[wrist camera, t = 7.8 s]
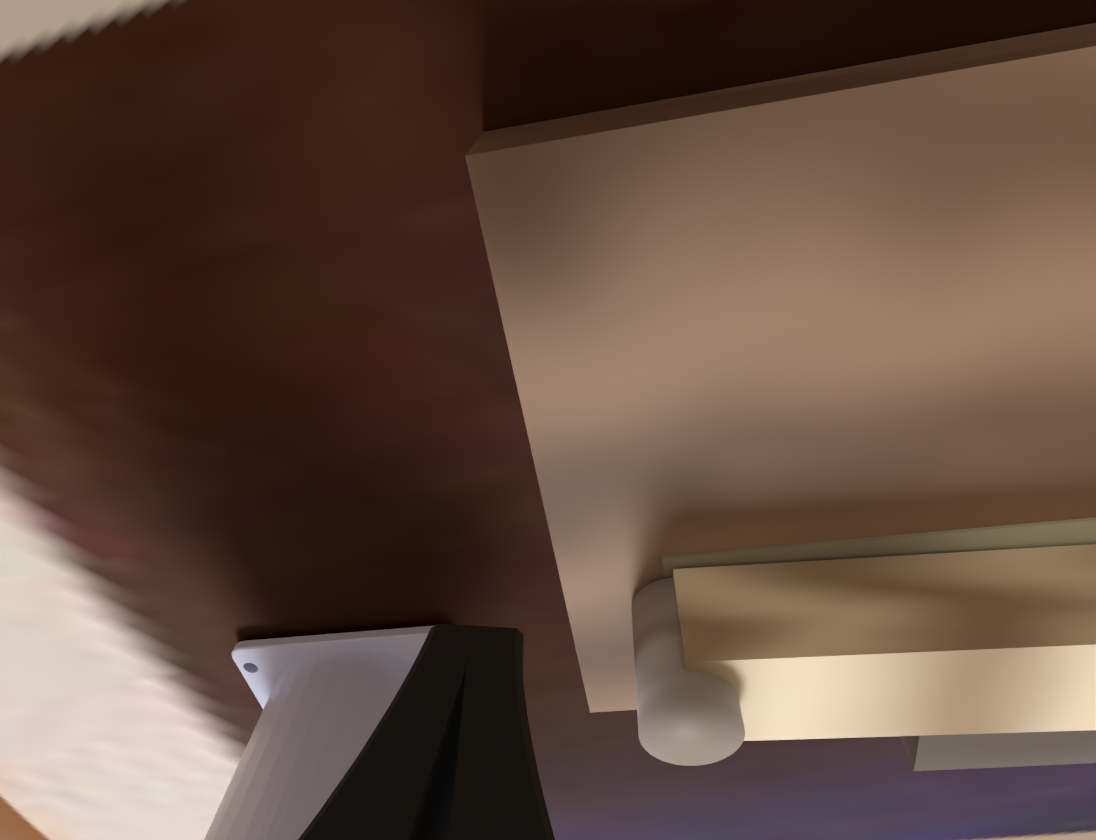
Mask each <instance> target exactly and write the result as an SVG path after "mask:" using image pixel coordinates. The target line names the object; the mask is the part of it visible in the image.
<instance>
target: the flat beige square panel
mask: <svg viewBox="0 0 1096 840" xmlns="http://www.w3.org/2000/svg"><path fill="white" fill-rule="evenodd" d="M465 158H466V162H467V167H468V171H469V175H470V180H471V184H472V189H473V193H474V198H475V202H476V207H477V211H478V216H479V220H480V224H481V229H482V233H483V238H484V242H485V247H486V251H487V256H488V260H489V264H490V269H491V273H492V278H493V282H494V287H495V291H496V296H497V300H498V305H499V309H500V313H501V318H502V322H503V327H504V331H505V336H506V340H507V345H508V349H509V353H510V358H511V362H512V367H513V371H514V376H515V380H516V385H517V389H518V393H519V398H520V402H521V407H522V411H523V416H524V420H525V425H526V429H527V434H528V438H529V442H530V447H531V451H532V456H533V460H534V465H535V469H536V474H537V478H538V482H539V487H540V491H541V496H542V500H543V505H544V509H545V514H546V518H547V522H548V527H549V531H550V536H551V540H552V545H553V549H554V554H555V558H556V563H557V567H558V571H559V576H560V580H561V585H562V589H563V594H564V598H565V603H566V607H567V611H568V616H569V620H570V625H571V629H572V634H573V638H574V643H575V647H576V652H577V656H578V660H579V665H580V669H581V674H582V678H583V683H584V687H585V692H586V696H587V700H588V705H589V709H590V712H606V711H623V710H637V697H636V680H635V663H634V645H633V628H632V609H631V608H632V603H633V600H634V598H635V596H636V595H637V594H638V592H639V591H640V590H642V589H643V588H644V587H645V586H647V585H649V584H650V583H653V582H655V581H658V580H661V579H665V578H673V569H683V568H700V567H717V566H734V565H751V564H768V563H785V562H802V561H819V560H836V559H852V558H869V557H886V556H903V555H920V554H937V553H954V552H971V551H988V550H1005V549H1022V548H1039V547H1055V546H1072V545H1089V544H1096V23H1091V24H1085V25H1080V26H1074V27H1069V28H1063V29H1057V30H1052V31H1046V32H1041V33H1035V34H1029V35H1024V36H1018V37H1013V38H1007V39H1001V40H996V41H990V42H985V43H979V44H973V45H968V46H962V47H957V48H951V49H945V50H940V51H934V52H929V53H923V54H917V55H912V56H906V57H900V58H895V59H889V60H884V61H878V62H872V63H867V64H861V65H856V66H850V67H844V68H839V69H833V70H828V71H822V72H816V73H811V74H805V75H800V76H794V77H788V78H783V79H777V80H772V81H766V82H760V83H755V84H749V85H743V86H738V87H732V88H727V89H721V90H715V91H710V92H704V93H699V94H693V95H687V96H682V97H676V98H671V99H665V100H659V101H654V102H648V103H643V104H637V105H631V106H626V107H620V108H615V109H609V110H603V111H598V112H592V113H587V114H581V115H575V116H570V117H564V118H558V119H553V120H547V121H542V122H536V123H530V124H525V125H519V126H514V127H508V128H502V129H497V130H491V131H486V132H482V134H481V135H480V136H479V138H478V139H477V140H476V142H475V143H474V144H473V146H472V147H471V149H470V150H469V151H468V153H467V154H466V155H465ZM900 738H901V741H902V743H903V745H904V748H905V750H906V753H907V755H908V758H909V760H910V763H911V765H912V768H913V770H914V771H929V770H950V769H972V768H994V767H1016V766H1038V765H1060V764H1081V763H1096V730H1087V731H1054V732H1021V733H988V734H955V735H922V736H900Z"/></svg>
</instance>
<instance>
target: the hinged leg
mask: <svg viewBox="0 0 1096 840" xmlns="http://www.w3.org/2000/svg"><path fill="white" fill-rule="evenodd" d="M631 609H632V628H633V645H634V663H635V680H636V697H637V714H638V731H639V740H640V742H641V745H642V746H643V747H644V749H645V750H646V751H647V752H648V753H650V754H651V755H652V756H654V757H656V758H658V759H660V760H662V761H665V762H668V763H672V764H677V765H685V766H696V765H705V764H710V763H714V762H717V761H720V760H722V759H724V758H726V757H728V756H730V755H731V754H733V753H734V752H735V751H736V750H737V749H738V748H739V747H740V746H741V744H742V742H743V741H757V740H790V739H823V738H856V737H889V736H922V735H955V734H988V733H1021V732H1054V731H1087V730H1096V544H1089V545H1072V546H1055V547H1039V548H1022V549H1005V550H988V551H971V552H954V553H937V554H920V555H903V556H886V557H869V558H852V559H836V560H819V561H802V562H785V563H768V564H751V565H734V566H717V567H700V568H683V569H673V578H665V579H661V580H658V581H655V582H653V583H650V584H649V585H647V586H645V587H644V588H643V589H642V590H640V591H639V592H638V594H637V595H636V596H635V598H634V600H633V603H632V608H631Z"/></svg>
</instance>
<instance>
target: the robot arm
mask: <svg viewBox="0 0 1096 840" xmlns="http://www.w3.org/2000/svg"><path fill="white" fill-rule="evenodd" d="M523 647H524V634H523V633H522V632H520V631H519V630H518V629H517V628H503V627H485V626H468V625H451V624H436V625H435V626H422V627H410V628H397V629H385V630H372V631H360V632H347V633H335V634H322V635H309V636H297V637H284V638H272V639H259V640H247V641H241V642H238V643H237V644H236V646H235V647H234V649H233V651H232V654H231V655H232V658H233V660H234V661H235V663H236V665H237V666H238V668H239V670H240V671H241V673H242V675H243V676H244V678H245V680H246V681H247V683H248V685H249V686H250V688H251V690H252V691H253V693H254V695H255V696H256V698H257V700H258V701H259V703H260V705H261V706H262V708H263V711H262V714H261V716H260V718H259V720H258V722H257V725H256V727H255V729H254V731H253V733H252V736H251V738H250V740H249V742H248V744H247V747H246V749H245V751H244V753H243V755H242V758H241V760H240V762H239V764H238V766H237V769H236V771H235V773H234V775H233V777H232V780H231V782H230V784H229V786H228V789H227V791H226V793H225V795H224V797H223V800H222V802H221V804H220V806H219V808H218V811H217V813H216V815H215V817H214V819H213V822H212V824H211V826H210V828H209V830H208V833H207V835H206V837H205V839H204V840H555V839H554V835H553V831H552V827H551V824H550V820H549V816H548V812H547V808H546V804H545V800H544V796H543V792H542V788H541V783H540V779H539V775H538V770H537V765H536V760H535V755H534V750H533V745H532V740H531V735H530V729H529V723H528V717H527V710H526V701H525V693H524V684H523Z"/></svg>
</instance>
